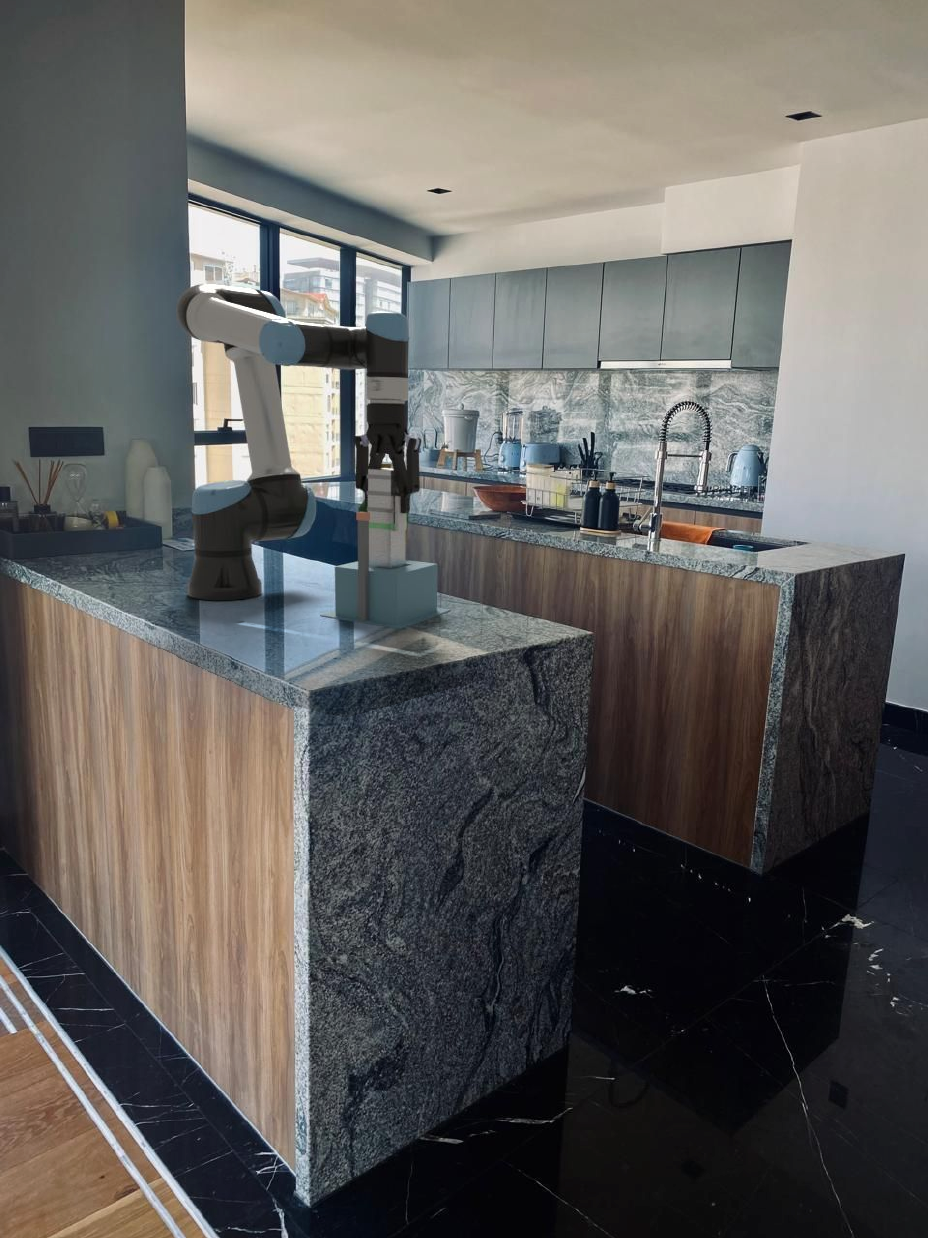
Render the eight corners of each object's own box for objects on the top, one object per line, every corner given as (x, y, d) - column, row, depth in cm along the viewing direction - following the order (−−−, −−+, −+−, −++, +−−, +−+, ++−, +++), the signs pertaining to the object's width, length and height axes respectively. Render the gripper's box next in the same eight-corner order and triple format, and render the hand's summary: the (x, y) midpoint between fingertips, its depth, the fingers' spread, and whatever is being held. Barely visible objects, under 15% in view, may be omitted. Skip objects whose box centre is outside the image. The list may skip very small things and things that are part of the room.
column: (367, 586, 166) (366, 469, 161) (383, 581, 171) (383, 467, 166) (390, 589, 164) (391, 470, 159) (406, 585, 168) (407, 469, 163)
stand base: (320, 619, 165) (318, 509, 161) (375, 602, 181) (375, 501, 176) (400, 632, 157) (400, 516, 152) (450, 613, 172) (452, 508, 167)
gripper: (333, 400, 161) (335, 527, 166) (419, 402, 152) (417, 535, 157) (358, 401, 167) (358, 523, 172) (441, 403, 158) (439, 531, 164)
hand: (387, 528), depth 165 cm, fingers closed on column, 5 cm apart
